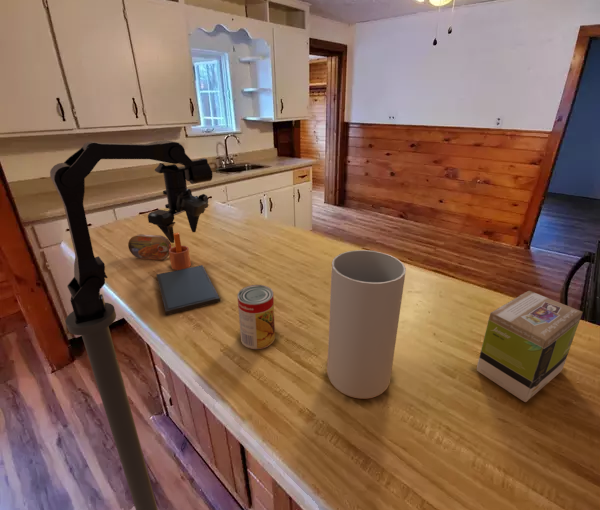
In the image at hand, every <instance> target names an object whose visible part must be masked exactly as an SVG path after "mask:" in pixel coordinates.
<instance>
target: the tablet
mask: <svg viewBox="0 0 600 510" xmlns="http://www.w3.org/2000/svg"><path fill="white" fill-rule="evenodd" d="M156 278H157V282H158V287H159V291H160V296H161V300H162V304H163V307H164V312H165V316H168V315H172V314H176V313H180V312H184V311H185V312H186V311H189V310H193V309H196V308H201V307H204V306H208V305H213V304H216V303H219V302H221V298H220V295H219V294H218V292H217V290H216V288H215V286H214V285H213V282H212V281H211V279H210V277H209V275H208V272H207V271H206V270H205V267H204V265H203V264H200V265H195V266H190V267H188V268H185V269H181V270H170V271H167V272H161V273H157V274H156Z"/></svg>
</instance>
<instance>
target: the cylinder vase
mask: <svg viewBox="0 0 600 510" xmlns="http://www.w3.org/2000/svg"><path fill="white" fill-rule="evenodd" d="M406 271H407V268H406V265H405V264H404V262H402V261H401V260H400V259H399V258H397V257H395V256H394V255H391V254H388V253H385V252H382V251H377V250H369V249H355V250H348V251H345V252H341V253H339V254H338V255H336V256H334V258H333V259H332V261H331V277H330V296H329V297H330V298H329V321H328V342H327V343H328V344H327V364H326V365H327V367H326V370H327V371H326V372H327V377H328V380H329V381H330V383H331V385H332V386H333V387H334V388H335V389H336V390H337V391H339V392H340V393H342V394H344V395H345V396H348V397H351V398H354V399H361V400H366V399H367V400H368V399H372V398H375V397H378V396H380V395H381V394H383V393H384V392H385V391H386V390H387V389H388V387H389V385H390V384H391V378H392V370H393V363H394V356H395V349H396V344H397V343H396V342H397V335H398V329H399V322H400V314H401V308H402V307H401V306H402V300H403V295H404V294H403V293H404V286H405V279H406Z"/></svg>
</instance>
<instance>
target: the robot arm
mask: <svg viewBox="0 0 600 510" xmlns="http://www.w3.org/2000/svg"><path fill="white" fill-rule="evenodd" d="M101 160H152V161H156V162H159V164H158V165H157V166H156V167H155V169H154V171H155V173H158V174H163V179H164V187H165V190H162V194H163V195H166V199H167V203H166V204H165V205H164V207H165V209H168V210H165V209H156V210H154V211H151V212H149V213H148V214H147V222H148V224H153V225H154V226H157V227H158V228H159V229H160V231H161V232H162V233H163V234H164V237H166V238H167V239H168V240H169V241H170V243H171V244H175V240H174V233H175V232H174V226H175V224H176V222H175V221H174V220H175V216H177V215H179V214H182V213H185V214H186V217H187V221H188V224H189V228H190V230H191V232H192V233H196V231H197V227H198V223H199V220H200V216H201V215H202V214H204V213H205V211H206V209H207V208H209V198H208V195H207V194H205V193H202V194H199V195H193V193H192V190H191V188H188V187H187V186H188V185H187V182H189V183H190V184H191V185H196V184H201V183H206V182H211V181H212V180H213V170H212V168H211V166H210V164H209V163H208V159H207V158H205V157H204V158H203V157H202V158H199V159H191V158H190V157H189V155H188V154H187V153H186V149H185V147H184V146H183V145H182V144H181V143H180V142H177V141H172V140H169V139H164V140H157V141H152V142H148V143H129V142H127V143H125V142H124V143H121V142H96V141H87V142H85V143H84V144H83V145H82V146H81V148H79V149H78V150H77V151H76V152H74V153H73V154H71V155H70V156H69V157H67V158H66V160H65V161H64V162H60V163H56V164H55V165H54V166H52V167H51V169H50V171H49V177H50V179H51V181H52V183H53V186H54V187H55V190H56V192H57V194H58V196H59V198H60V200H61V202H62V204H63V207H64V213H65V217H66V222H67V227H68V230H69V234H70V238H71V239H70V240H71V242H72V247H73V252H74V263H73V275H74V276H73V278H72V279H71V280H70V282H69V283H68V284H67V286H66V287H67V289H68V291H69V293H70V296H71V297H70V300H69V301H70V305H71V308H72V312H73V311H74V314H75V317H76V319H75V323H76V324H78V323H82V322H86V321H91V320H95V319H99V318H103V317H104V312H105V311H106V305H105V303H106V302H105V298H104V294H103V293H102V294H101V293H100V292H101V289H102V288H103V287H104V286H105V284H106V279H108V276H107V274H106V265H105V263H104V261H103V260H102V259H101V257H100V256H99V255H97V256H95V254H94V249H93V244H92V240H91V239H92V238H91V235H90V229H89V225H88V220H87V216H86V211H85V207H84V200H85V191H86V189H85V187H86V185H85V183H86V182H85V179H86V178H87V177H88V176H89V175H90V174H91V173H92V171H93V170H94V168H96V165H98V163H99V162H100V161H101ZM164 163H167V164H164ZM177 164H178V165H181V166H178V165H177Z"/></svg>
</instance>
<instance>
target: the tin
mask: <svg viewBox="0 0 600 510" xmlns="http://www.w3.org/2000/svg"><path fill="white" fill-rule="evenodd" d="M127 247H128V250H129V252H130V254H132V256H133V257H135V258H136V259H141V260H155V261H156V260H157V261H162V260H165V259H166V258H167V257H170V255H169V249H171V248H172V243H171V242H170V241H169V240H168V238H167V237H166V236H165V235H160V234H144V233H143V234H141V233H140V234H137V235H133V236H132V237H130V238H129V240H128V242H127Z"/></svg>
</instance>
